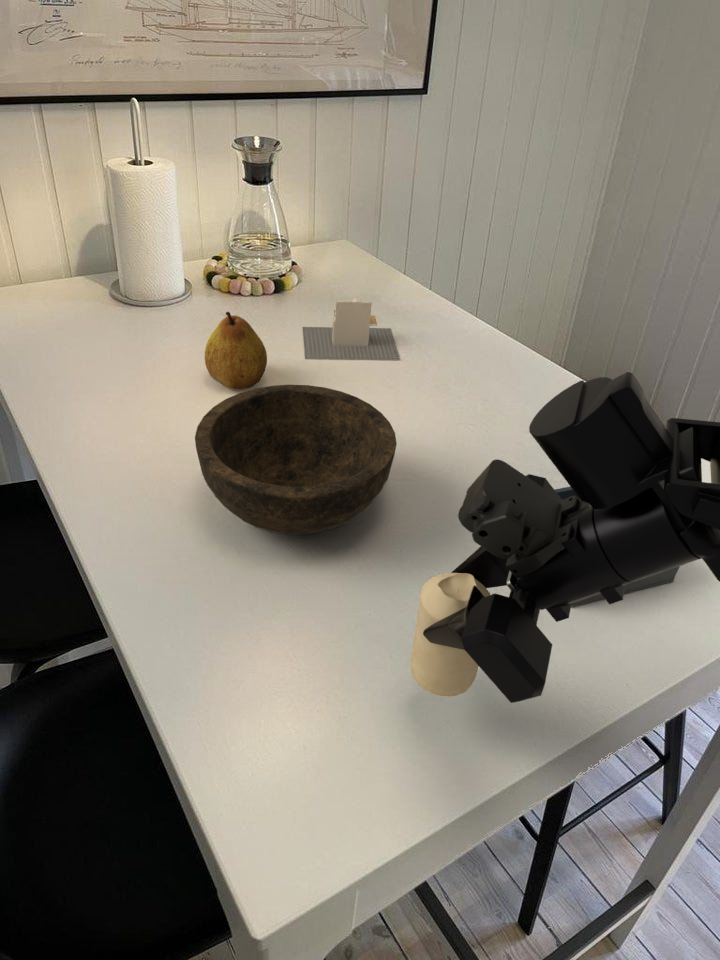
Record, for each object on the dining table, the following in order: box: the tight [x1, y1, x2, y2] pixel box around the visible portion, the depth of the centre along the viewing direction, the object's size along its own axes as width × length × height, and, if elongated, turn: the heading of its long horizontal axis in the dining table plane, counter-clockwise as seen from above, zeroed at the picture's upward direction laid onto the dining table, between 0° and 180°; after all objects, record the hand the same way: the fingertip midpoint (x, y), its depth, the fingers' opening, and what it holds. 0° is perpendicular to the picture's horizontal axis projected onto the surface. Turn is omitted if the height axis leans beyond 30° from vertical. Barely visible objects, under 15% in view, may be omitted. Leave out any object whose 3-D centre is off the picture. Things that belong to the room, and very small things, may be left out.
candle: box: [410, 572, 491, 697], centre depth 60 cm, size 6×6×10 cm
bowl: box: [194, 384, 397, 535], centre depth 85 cm, size 22×22×10 cm
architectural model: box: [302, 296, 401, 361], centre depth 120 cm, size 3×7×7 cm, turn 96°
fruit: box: [204, 311, 268, 391], centre depth 106 cm, size 9×9×12 cm
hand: (436, 610), depth 59 cm, fingers closed on candle, 5 cm apart
